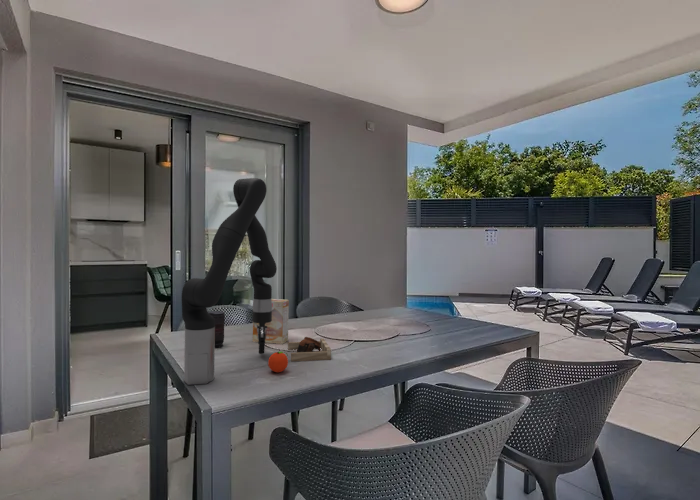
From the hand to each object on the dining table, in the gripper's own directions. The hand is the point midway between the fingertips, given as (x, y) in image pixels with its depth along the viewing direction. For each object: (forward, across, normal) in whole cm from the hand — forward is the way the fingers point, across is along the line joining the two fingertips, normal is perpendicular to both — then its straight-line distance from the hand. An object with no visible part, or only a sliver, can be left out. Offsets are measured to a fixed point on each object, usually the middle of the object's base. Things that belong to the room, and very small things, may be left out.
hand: (261, 353), depth 155 cm
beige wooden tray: (+1, 0, -18) cm, 18 cm away
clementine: (+2, -20, -6) cm, 21 cm away
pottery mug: (+2, -1, -19) cm, 19 cm away
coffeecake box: (+1, +24, -4) cm, 25 cm away
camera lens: (+2, +19, +20) cm, 28 cm away
